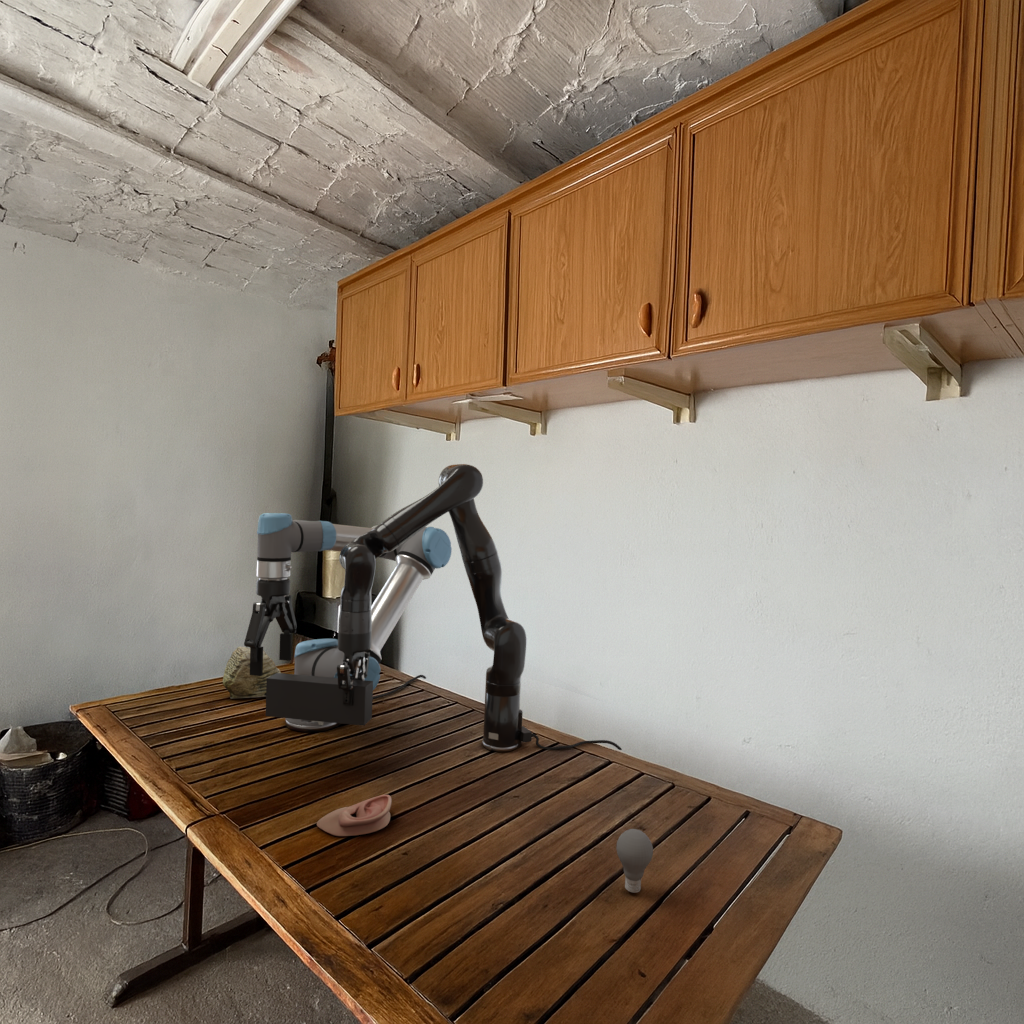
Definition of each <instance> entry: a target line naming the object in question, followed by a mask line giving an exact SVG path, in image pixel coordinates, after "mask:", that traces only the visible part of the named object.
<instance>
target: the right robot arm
mask: <svg viewBox="0 0 1024 1024" xmlns="http://www.w3.org/2000/svg"><path fill="white" fill-rule="evenodd" d="M483 486H484V477H483V474H482V472H481V471H480V470H479V469H478V468H477V467H476V466H475V465H471V464H467V463H459V464H458V463H457V464H450V465H447V466H445V467H444V468H443V469H442V470H441V472H440V474H439V477H438V486H437V487H436V488H434V489H433V490H432V491H431V492H429V493H428V494H427V495H424V496H423V497H421V498H420V499H418V500H416V501H414V502H412V503H410V504H408V505H406V506H405V507H402V508H400V509H399V510H397V511H396V512H394V513H393V514H391V515H390V516H388V517H387V518H386V519H385V520H383V521H381V522H380V523H379V524H378V526H376V525H375V526H376V527H375V528H374V529H372V530H371V531H369V532H367V533H365V534H363V535H361V536H360V537H358V538H356V539H354V540H353V541H351V542H350V543H348V544H347V545H346V546H345V547H344V548H343V549H342V550H341V551H339V552H340V553H339V556H338V560H339V564H340V566H341V567H342V568H343V569H344V583H343V584H344V585H343V586H342V588H341V591H340V599H339V600H340V601H339V615H338V627H337V628H338V629H337V640H338V649H339V650H340V651H342V652H343V653H344V658H343V663H342V665H337V677H338V688H339V689H342V690H343V705H344V706H352V705H353V691H354V690H353V689H354V683H355V680H364V678H367V674H368V665H369V657H370V653H368V652H365V651H368V650H370V648H371V631H372V616H371V606H372V590H373V589H372V588H373V585H374V581H375V575H376V568H377V567H376V566H377V564H376V563H377V561H376V560H377V559H379V556H381V555H382V554H384V553H387V552H391V551H393V550H395V549H396V548H398V547H399V546H400V545H402V544H403V543H404V542H406V541H407V540H408V539H410V538H411V537H412V536H414V535H415V534H416V533H418V532H419V531H420V530H422V529H423V528H424V527H428V526H429V525H430V524H432V523H433V522H434V521H435V520H437V519H439V518H441V517H442V516H443V515H445V514H447V513H448V514H449V517H450V519H451V523H452V525H453V530H454V533H455V536H456V540H457V544H458V548H459V551H460V555H461V559H462V563H463V566H464V569H465V570H464V571H465V572H466V576H467V579H468V583H469V586H470V588H471V593H472V595H473V598H474V601H475V604H476V607H477V612H478V618H479V623H480V629H481V634H482V639H483V641H484V644H485V645H486V646H487V648H489V649H490V650H491V651H493V661H492V665H491V666H489V667H487V669H486V672H485V685H484V686H485V690H484V708H483V709H484V711H483V712H484V713H483V714H484V715H483V735H482V746H483V748H485V749H486V750H489V751H491V752H496V753H497V752H498V753H507V752H513V751H514V750H515V751H516V750H517V749H518V748H522V743H523V744H525V743H529V742H532V739H533V738H534V739H535V745H536V747H538V749H543V750H548V751H557V750H568V749H573V748H577V747H579V746H582V745H587V744H589V745H591V744H608V745H611V746H613V747H615V748H616V749H617V750H618V751H623V749H622V748H621V746H619V744H617V743H615V742H614V741H611V740H606V739H597V740H596V739H595V740H594V739H593V740H583V741H579V742H576V743H573V744H568V745H560V746H559V745H558V746H552V747H551V746H550V747H549V746H548V747H546V746H543V745H541V744H540V743H539V742H540V738H539V736H538V735H537V734H535V733H533V732H532V731H531V730H530V729H528V728H527V727H525V726H524V725H523V716H524V715H523V713H524V712H523V710H522V709H521V686H522V685H521V684H522V675H523V673H524V670H525V666H526V655H527V645H528V644H527V643H528V641H527V639H528V638H527V633H526V629H525V628H524V626H523V625H522V624H521V623H519V622H517V621H515V620H513V619H510V617H509V616H508V613H507V611H506V608H505V605H504V602H503V598H502V597H503V596H502V582H503V568H502V563H501V560H500V555H499V552H498V548H497V545H496V543H495V541H494V538H493V537H492V535H491V533H490V532H489V529H487V527H486V525H485V524H484V522H483V520H482V518H481V517H480V515H479V511H478V509H477V506H476V501H475V499H476V497H478V496H479V494H480V493H481V492H482V489H483ZM350 674H352V676H350ZM350 679H351V683H350ZM342 681H343V682H342Z"/></svg>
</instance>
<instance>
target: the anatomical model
mask: <svg viewBox="0 0 1024 1024" xmlns="http://www.w3.org/2000/svg"><path fill="white" fill-rule="evenodd" d="M392 801H393V800H392V796H391V795H389V794H380V795H377V796H373V797H371V798H368V799H365V800H362V801H360V802H357V803H355V804H353V805H349V806H345V807H340V808H337V809H335V810H332V811H331V812H328V813H326V814H325V815H324V816H323V817H321V818H319V820H318V821H317V822H316V826H317V828H319V829H320V830H322V831H324V832H325V833H326V834H327V833H328V834H330V835H332V836H336V837H351V836H359V835H360V836H361V835H366V834H371V833H375V832H378V831H380V830H383V829H384V828H385V827H387V826H388V824H389V823H390V822H391V813H390V810H391V808H392V803H393V802H392Z"/></svg>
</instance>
